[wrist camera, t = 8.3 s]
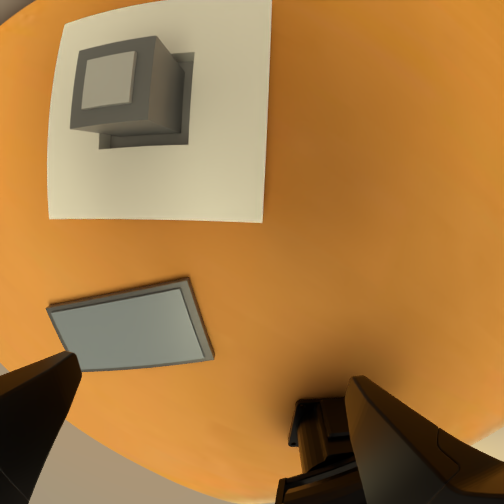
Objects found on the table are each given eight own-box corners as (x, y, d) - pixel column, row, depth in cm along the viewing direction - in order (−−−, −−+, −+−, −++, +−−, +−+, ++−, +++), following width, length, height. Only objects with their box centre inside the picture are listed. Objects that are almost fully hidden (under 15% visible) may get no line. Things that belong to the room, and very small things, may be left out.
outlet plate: (261, 216, 18) (262, 222, 17) (64, 213, 18) (49, 219, 16) (270, 11, 14) (272, -4, 13) (78, 32, 14) (64, 24, 12)
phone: (215, 350, 22) (213, 361, 21) (82, 364, 23) (76, 373, 21) (190, 274, 20) (186, 281, 19) (52, 302, 21) (44, 309, 20)
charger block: (181, 133, 17) (145, 118, 11) (120, 136, 17) (66, 128, 10) (185, 72, 15) (154, 32, 9) (125, 78, 15) (76, 49, 9)
